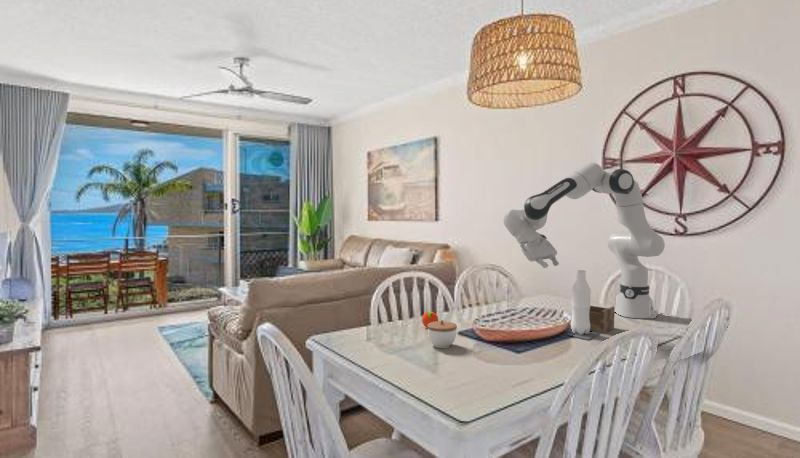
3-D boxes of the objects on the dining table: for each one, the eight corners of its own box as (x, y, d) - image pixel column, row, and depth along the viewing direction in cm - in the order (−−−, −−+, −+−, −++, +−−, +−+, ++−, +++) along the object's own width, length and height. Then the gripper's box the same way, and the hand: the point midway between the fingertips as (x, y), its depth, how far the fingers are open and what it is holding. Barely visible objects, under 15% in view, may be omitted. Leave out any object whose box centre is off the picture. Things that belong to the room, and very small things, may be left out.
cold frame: (585, 323, 197) (585, 302, 197) (614, 328, 189) (614, 306, 188) (573, 328, 189) (573, 307, 188) (602, 333, 180) (603, 311, 180)
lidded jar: (455, 351, 159) (455, 324, 159) (425, 349, 161) (425, 323, 161) (457, 342, 170) (457, 317, 169) (429, 340, 172) (429, 316, 172)
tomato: (437, 331, 185) (437, 314, 185) (420, 330, 186) (420, 313, 186) (438, 326, 193) (438, 309, 193) (422, 325, 194) (422, 309, 194)
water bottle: (593, 335, 176) (594, 272, 175) (574, 335, 176) (575, 272, 175) (585, 330, 183) (586, 269, 182) (568, 330, 183) (568, 269, 182)
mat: (572, 329, 187) (572, 328, 187) (599, 334, 179) (599, 333, 179) (560, 334, 179) (560, 333, 179) (588, 340, 172) (588, 339, 172)
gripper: (523, 237, 184) (545, 263, 178) (546, 235, 199) (568, 259, 192) (513, 247, 187) (534, 273, 181) (537, 244, 202) (557, 268, 195)
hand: (552, 266), depth 187 cm, fingers open, 8 cm apart
